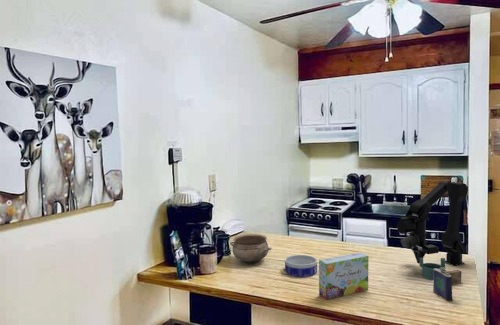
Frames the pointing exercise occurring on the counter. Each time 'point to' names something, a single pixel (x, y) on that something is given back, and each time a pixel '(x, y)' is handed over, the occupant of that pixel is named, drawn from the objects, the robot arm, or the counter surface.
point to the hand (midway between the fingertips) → (418, 263)
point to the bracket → (430, 268)
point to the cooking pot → (250, 247)
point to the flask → (442, 283)
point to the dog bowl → (301, 265)
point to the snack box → (343, 275)
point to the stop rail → (455, 276)
